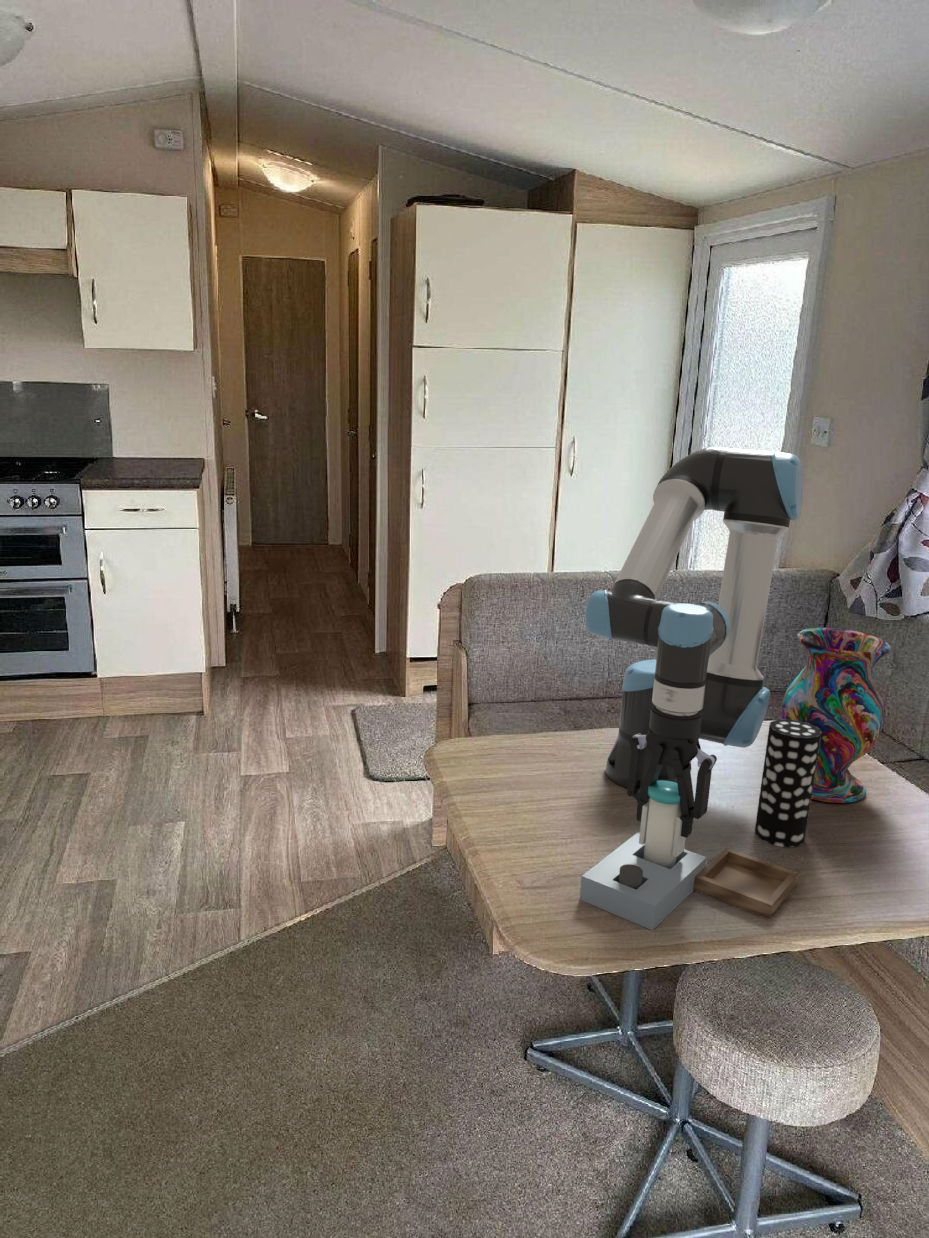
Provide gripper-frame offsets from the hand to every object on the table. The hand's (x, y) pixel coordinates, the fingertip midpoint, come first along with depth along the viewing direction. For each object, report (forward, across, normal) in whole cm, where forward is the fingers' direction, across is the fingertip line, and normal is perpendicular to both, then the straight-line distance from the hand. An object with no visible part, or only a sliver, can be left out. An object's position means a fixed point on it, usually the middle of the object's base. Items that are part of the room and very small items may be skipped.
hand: (661, 846), depth 147 cm
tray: (+5, +12, +6) cm, 14 cm away
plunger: (+4, 0, -10) cm, 11 cm away
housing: (+5, 0, -5) cm, 7 cm away
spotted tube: (+5, +10, +27) cm, 29 cm away
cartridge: (+5, 0, 0) cm, 5 cm away
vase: (+5, +9, +53) cm, 54 cm away
